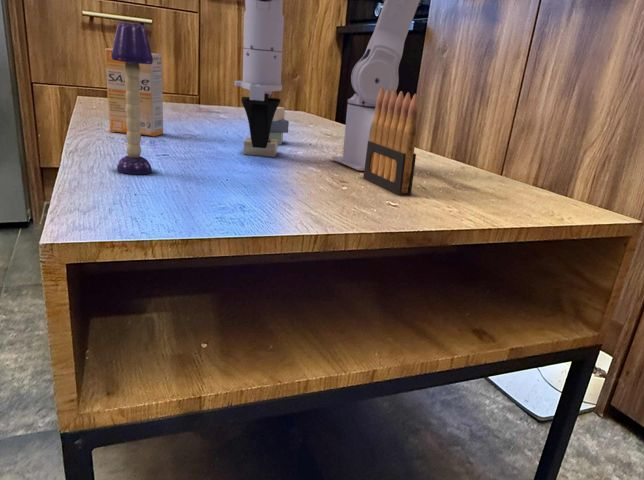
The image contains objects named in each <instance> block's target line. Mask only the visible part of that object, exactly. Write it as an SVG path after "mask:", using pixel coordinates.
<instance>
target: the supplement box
mask: <svg viewBox="0 0 644 480" xmlns="http://www.w3.org/2000/svg"><path fill="white" fill-rule="evenodd" d="M112 49H113V48H109V47H108V48H104V57H105V72H106V73H105V74H106V75H105V76H106V88H107V89H106V90H107V91H106V92H107V105H108V123H109V131H110V132H114V133H121V134H127V131H128V129H127V127H126V120H127V114H126V105H127V101H126V91H127V89H126V86H125V79H126V76H127V75H126V73H125V63H126V62H122V61H116V60H113V59H112ZM151 54H152V58H153V63H152V64H139V66H140V75H139V79H140V89H139V93H140V97H141V100H140V103H139V105H140V108H141V115H140V117H139V119H140V121H141V129H140V131H139V132H140V134H141V136H147V137H157V136H160V135H163V134H164V105H163V104H164V102H163V63H162V60H163V59H162V58H163V57H162V56H163V55H162V54H161V53H153V52H151Z"/></svg>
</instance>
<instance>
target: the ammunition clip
mask: <svg viewBox="0 0 644 480" xmlns="http://www.w3.org/2000/svg"><path fill="white" fill-rule="evenodd" d="M403 92H404V91H402V90H401V91H399V93H398V94H397V90H394V91H393V93H392V95H391V94H390V89H387V91H386V93H384V89H383V87H382V88H381V90H380V92H379V94H378V98H377V102H376V109H375V114H374V118H373V122H372V129H371V137H370V141H368V145H367V152H366V160H365V168H364V171H363V176H362V177H363V179H364V180H366V181H368V182H370V183H372V184H375V185H376V186H379V187H380V188H382V189H384V190H387V191H388V192H391V193H393V194H395V195H398V196H411V195H412V191H413V190H412V189H413V182H414V174H415V166H416V159H417V153H415V149H416V141H417V136H418V135H417V133H418V125H417V124H418V114H419V97H418V94H417V93H414V94H413V96H412V98H411V94H410V92H409V91H407V93H406V94H405V96H404V93H403Z"/></svg>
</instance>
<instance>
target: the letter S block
mask: <svg viewBox="0 0 644 480" xmlns="http://www.w3.org/2000/svg"><path fill="white" fill-rule="evenodd" d="M278 146H279V145H278V140H275V139H270V138H269V140H268V144H267V147H266V148H257V147H253V146H252V142H251V136H250V137H249V136H247V137H246V138H245V139H244V140H243V155H248V156H260V157H269V158H275V157H276V156H277V154H278Z"/></svg>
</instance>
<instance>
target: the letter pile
mask: <svg viewBox="0 0 644 480" xmlns="http://www.w3.org/2000/svg"><path fill="white" fill-rule="evenodd" d="M285 110H286V107H284V106H278V107H277V109H276V112H275V114H274V117H273V121H272V125H271V130H270V135H269V138H270V139H275V140H278V146H282V144H283V141H284V139H283V138H284V134H288V133H289V124H290V123H289V120H287V119H286V118H285Z"/></svg>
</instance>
